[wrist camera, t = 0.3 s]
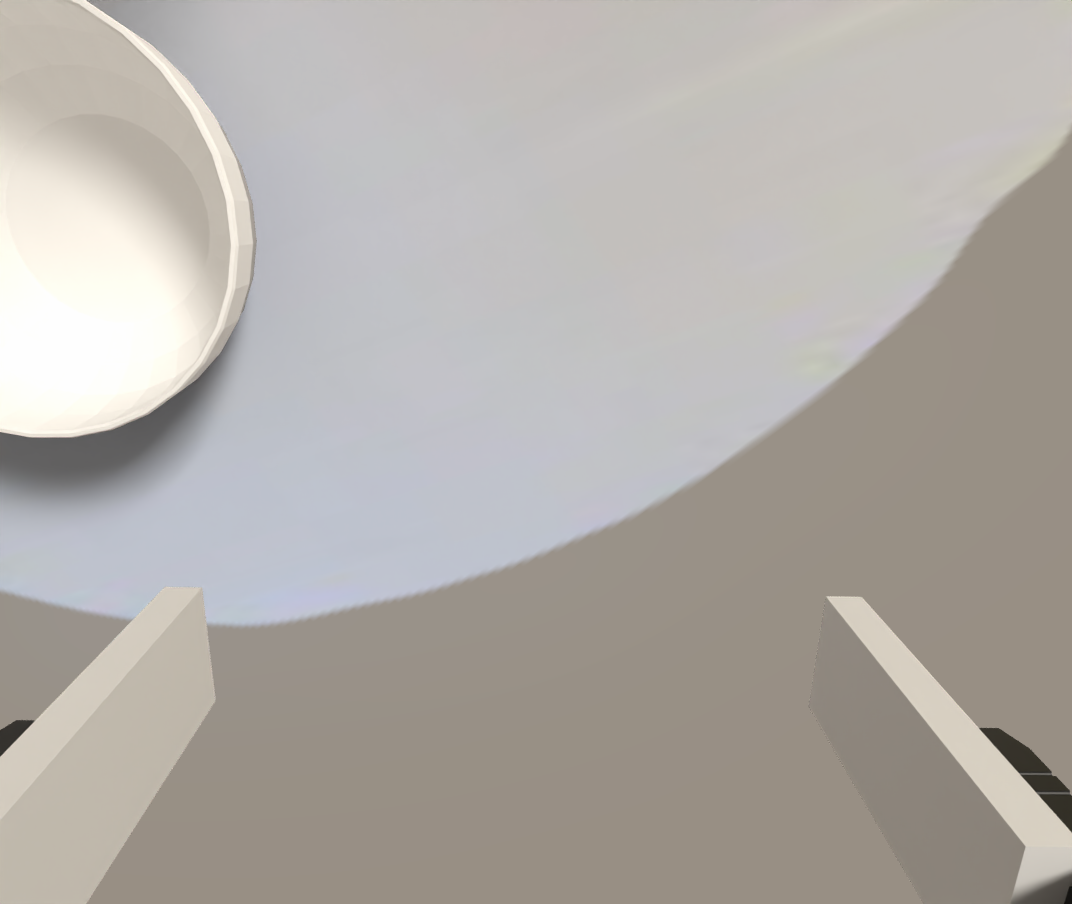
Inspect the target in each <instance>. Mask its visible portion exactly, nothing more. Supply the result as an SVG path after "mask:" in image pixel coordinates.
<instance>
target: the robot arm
mask: <svg viewBox="0 0 1072 904" xmlns="http://www.w3.org/2000/svg"><path fill="white" fill-rule="evenodd" d="M214 702H215V692H214V684H213V675H212V667H211V658H210V650H209V643H208V633H207V625H206V617H205V608H204V600H203V592H202V588H200V587H164V588H163V589H162V590H161V591H160V592H159V594H158V595H157V596H156V597H155V598H154V599H153V600H152V601H151V602H150V603H149V604H148V605H147V606H146V607H145V608H144V609H143V610H142V611H141V612H140V613H139V614H138V615H137V616H136V617H135V618H134V619H133V620H132V621H131V622H130V623H129V624H128V626H127V627H126V628H125V629H124V630H123V631H122V632H121V633H120V634H119V635H118V636H117V637H116V638H115V639H114V640H113V641H112V642H111V643H110V644H109V645H108V646H107V647H106V649H104V650H103V651H102V652H101V654H100V655H99V656H98V657H97V658H96V659H95V660H94V661H93V662H92V663H91V664H90V665H89V666H88V667H87V668H86V669H85V670H84V671H83V672H82V673H81V674H80V675H79V676H78V677H77V678H76V679H75V680H74V681H73V682H72V683H71V684H70V685H69V686H68V687H67V688H66V690H65V691H64V692H63V693H62V694H61V695H60V696H59V697H58V698H57V699H56V700H55V701H54V702H53V703H52V704H51V705H50V706H49V707H48V708H47V709H46V710H45V711H44V712H43V713H42V715H40V717H38V719H36V720H35V721H32V720H30V721H29V720H27V721H26V720H16V721H15V722H13V723H11V724H10V725H8V726H6V727H5V728H3V729H1V730H0V904H86V903H87V902H88V900H89V899H90V897H91V896H92V894H93V893H94V891H95V889H96V888H97V886H98V885H99V883H100V882H101V880H102V879H103V877H104V875H105V874H106V872H107V871H108V869H109V868H110V866H111V864H112V863H113V861H114V860H115V858H116V856H117V855H118V853H119V852H120V850H121V849H122V847H123V845H124V844H125V842H126V841H127V839H128V838H129V836H130V834H131V833H132V831H133V830H134V828H135V827H136V825H137V823H138V822H139V820H140V819H141V817H142V816H143V814H144V812H145V811H146V809H147V808H148V806H149V805H150V803H151V801H152V800H153V798H154V796H155V795H156V794H157V792H158V790H159V789H160V787H161V786H162V784H163V783H164V781H165V779H166V778H167V776H168V775H169V773H170V772H171V770H172V768H173V767H174V765H175V764H176V762H177V761H178V759H179V757H180V756H181V754H182V753H183V751H184V750H185V748H186V746H187V745H188V743H189V742H190V740H191V739H192V737H193V735H194V734H195V732H196V731H197V729H198V728H199V726H200V724H201V723H202V721H203V720H204V718H205V717H206V715H207V713H208V712H209V710H210V709H211V707H212V705H213V704H214ZM809 708H810V710H811V712H812V714H813V715H814V717H815V719H816V721H817V722H818V724H819V726H820V727H821V729H822V731H823V733H824V734H825V736H826V738H827V739H828V741H829V743H830V744H831V746H832V748H833V750H834V751H835V753H836V755H837V757H838V758H839V760H840V762H841V763H842V765H843V767H844V769H845V770H846V772H847V774H848V775H849V777H850V779H851V780H852V782H853V784H854V786H855V787H856V789H857V791H858V793H859V794H860V796H861V797H862V799H863V801H864V803H865V805H866V806H867V808H868V810H869V811H870V813H871V815H872V816H873V818H874V820H875V822H876V823H877V825H878V827H879V829H880V830H881V832H882V834H883V835H884V837H885V839H886V841H887V842H888V844H889V846H890V847H891V849H892V851H893V853H894V854H895V856H896V858H897V859H898V861H899V863H900V865H901V866H902V868H903V870H904V871H905V873H906V875H907V877H908V878H909V880H910V882H911V883H912V885H913V887H914V888H915V890H916V892H917V894H918V895H919V897H920V899H921V901H922V902H923V904H1072V796H1071V795H1070V791H1069V789H1068V788H1066V786H1065V785H1064V784H1063V783H1062V782H1061V781H1060V780H1059V779H1058V778H1057V777H1056V776H1052V774H1051V771H1050V770H1049V768H1047V766H1046V765H1045V764H1044V763H1043V762H1042V761H1041V760H1040V759H1039V758H1038V757H1037V756H1036V755H1035V754H1034V753H1033V752H1032V751H1031V750H1030V749H1029V748H1028V747H1026V746H1025V745H1023V744H1022V743H1020V742H1019V741H1017V740H1016V739H1014V738H1013V737H1011V736H1009V735H1008V734H1007V733H1005V732H1004V731H1002V730H1000V729H999V728H978V727H977V726H976V725H975V724H974V722H973V721H972V720H971V719H970V718H969V717H968V716H967V715H966V713H965V712H964V711H963V710H962V709H961V708H960V707H959V706H958V705H957V703H956V702H955V701H954V700H953V699H952V698H951V697H950V696H949V695H948V693H947V692H946V691H945V690H944V689H943V688H942V687H941V686H940V684H939V683H938V682H937V681H936V680H935V679H934V678H933V676H931V674H930V673H929V672H928V671H927V670H926V669H925V668H924V666H923V665H922V664H921V663H920V662H919V661H918V660H917V659H916V657H915V656H914V655H913V654H912V653H911V652H910V651H909V650H908V649H907V647H906V646H905V645H904V644H903V643H902V642H901V641H900V639H899V638H898V637H897V636H896V635H895V634H894V633H893V632H892V631H891V629H890V628H889V627H888V626H887V625H886V624H885V623H884V622H883V621H882V619H881V618H880V617H879V616H878V615H877V614H876V613H875V611H874V610H873V609H872V608H871V607H870V606H869V605H868V604H867V603H866V601H865V600H864V599H863V598H862V597H832V596H831V597H830V596H827V597H826V599H825V605H824V612H823V618H822V624H821V631H820V638H819V643H818V650H817V656H816V663H815V669H814V675H813V682H812V689H811V695H810V701H809Z"/></svg>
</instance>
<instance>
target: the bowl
mask: <svg viewBox="0 0 1072 904" xmlns="http://www.w3.org/2000/svg"><path fill="white" fill-rule="evenodd" d="M256 242H257V240H256V231H255V221H254V211H253V203H252V200H251V196H250V193H249V190H248V186H247V183H246V179H245V176H244V173H243V169H242V166H241V164H240V162H239V160H238V158H237V156H236V154H235V152H234V150H233V148H232V146H231V144H230V142H229V140H228V138H227V136H226V134H225V132H224V130H223V129H222V127H221V126H220V125H219V123H218V122H217V120H216V118H215V116H214V115H213V114H212V112H211V111H210V110H209V108H208V107H207V106H206V104H205V103H204V101H203V100H202V99H201V97H200V96H199V95H198V93H197V92H196V90H195V89H194V88H193V86H192V85H191V84H190V82H189V81H188V80H187V79H186V78H185V77H184V76H183V75H182V74H181V73H180V72H179V71H178V70H177V69H176V68H175V67H174V66H173V65H172V64H171V63H170V62H169V61H168V60H167V59H166V58H165V57H164V56H163V55H162V54H161V53H160V52H159V51H158V50H157V49H156V48H154V47H153V46H152V45H151V44H149V43H148V42H146V41H145V40H143V39H142V38H141V37H139V36H138V35H136V34H135V33H133V32H132V31H130V30H129V29H127V28H126V27H124V26H123V25H121V24H120V23H118V22H117V21H115V20H114V19H112V18H111V17H110V16H108V15H107V14H105V13H104V12H102V11H101V10H99V9H98V8H96V7H95V6H93V5H92V4H90V3H89V2H87V1H86V0H0V432H3V433H9V434H14V435H20V436H25V437H31V438H74V437H79V436H84V435H89V434H94V433H99V432H104V431H109V430H113V429H116V428H118V427H120V426H123V425H125V424H127V423H130V422H132V421H134V420H137V419H139V418H141V417H144V416H146V415H148V414H150V413H151V412H152V411H154V410H155V409H157V408H158V407H159V406H161V405H162V404H163V403H165V402H166V401H168V400H169V399H170V398H172V397H173V396H175V395H176V394H177V393H179V392H180V391H182V390H183V389H184V388H186V387H187V386H188V385H190V384H191V383H193V382H194V381H195V380H197V379H198V378H199V376H200V375H201V374H202V373H203V372H204V371H205V370H206V369H207V367H208V366H209V365H210V364H211V363H212V362H213V361H214V360H215V358H216V357H217V356H218V355H219V354H220V353H221V351H222V349H223V348H224V346H225V344H226V342H227V340H228V339H229V337H230V335H231V333H232V331H233V330H234V328H235V326H236V324H237V322H238V320H239V317H240V315H241V313H242V311H243V310H244V307H245V303H246V300H247V297H248V293H249V290H250V287H251V283H252V280H253V276H254V265H255V254H256Z"/></svg>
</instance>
